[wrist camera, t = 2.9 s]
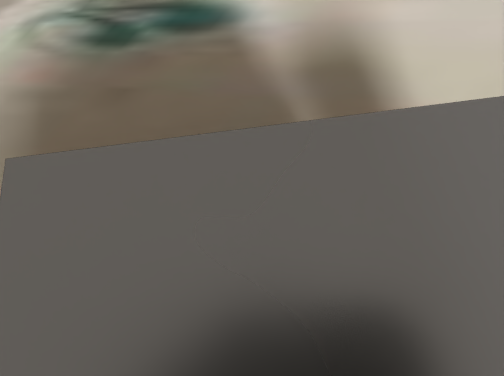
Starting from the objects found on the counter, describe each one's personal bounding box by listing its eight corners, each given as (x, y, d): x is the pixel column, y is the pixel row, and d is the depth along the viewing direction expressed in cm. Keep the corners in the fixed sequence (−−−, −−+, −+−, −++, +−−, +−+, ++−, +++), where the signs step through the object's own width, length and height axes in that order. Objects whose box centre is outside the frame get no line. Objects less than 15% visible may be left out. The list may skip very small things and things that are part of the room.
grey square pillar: (364, 329, 14) (920, 763, 1) (246, 336, 14) (-69, 697, 2) (349, 236, 15) (606, 34, 3) (240, 246, 16) (11, 118, 3)
